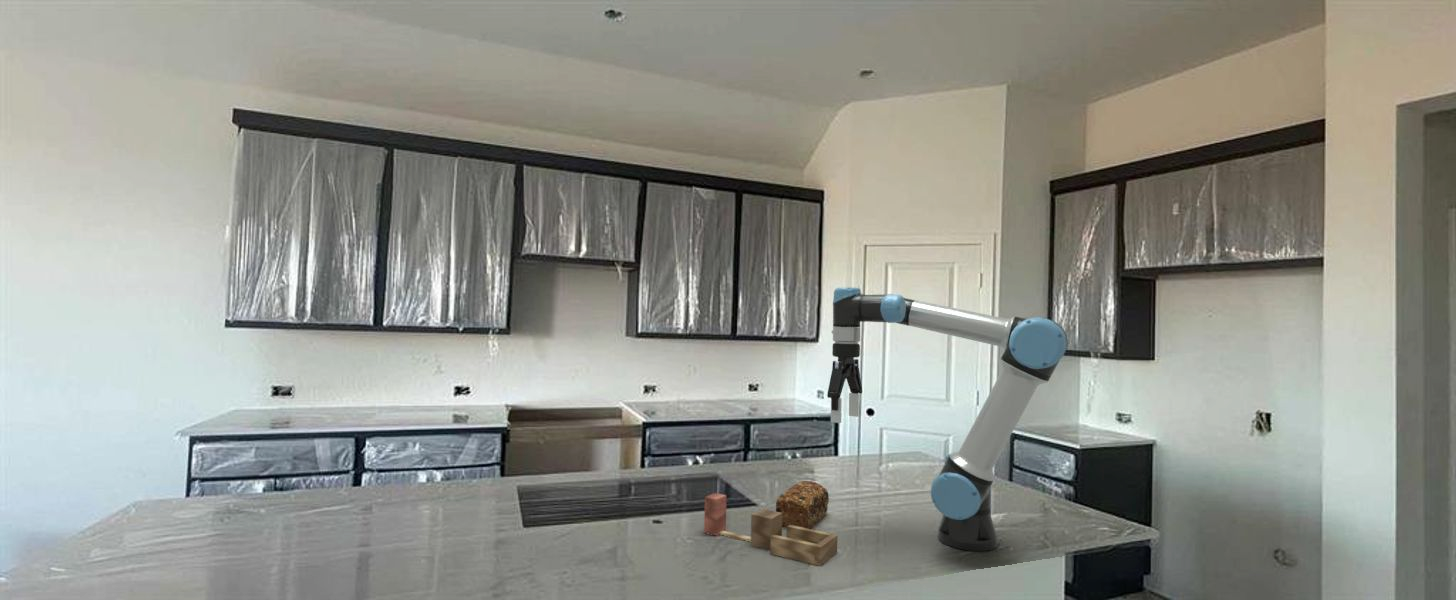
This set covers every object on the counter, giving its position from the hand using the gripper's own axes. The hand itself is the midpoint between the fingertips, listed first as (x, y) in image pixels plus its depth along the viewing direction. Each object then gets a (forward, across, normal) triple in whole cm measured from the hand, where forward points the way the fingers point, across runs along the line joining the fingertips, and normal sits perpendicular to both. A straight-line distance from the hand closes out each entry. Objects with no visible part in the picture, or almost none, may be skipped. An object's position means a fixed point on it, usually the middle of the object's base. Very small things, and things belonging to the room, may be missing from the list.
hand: (845, 419), depth 177 cm
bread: (+32, -5, -15) cm, 36 cm away
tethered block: (+32, +19, -21) cm, 43 cm away
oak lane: (+32, +19, -4) cm, 37 cm away
